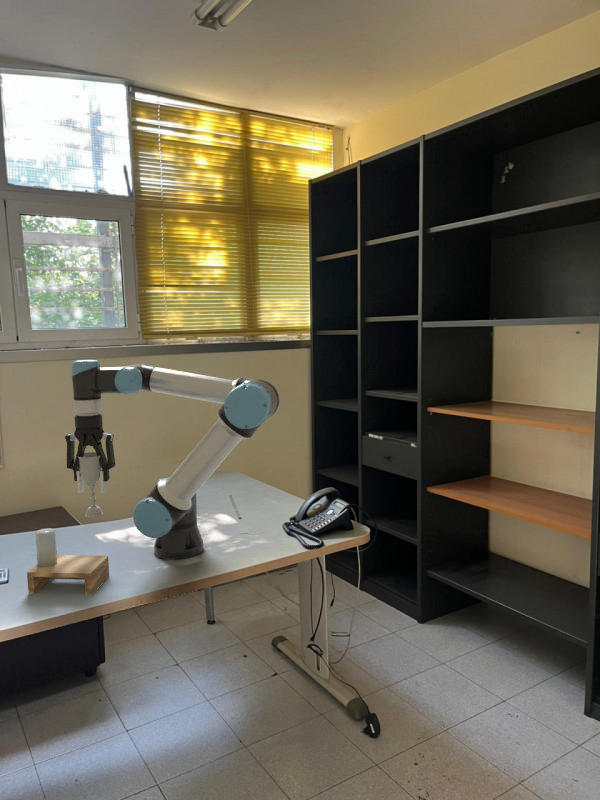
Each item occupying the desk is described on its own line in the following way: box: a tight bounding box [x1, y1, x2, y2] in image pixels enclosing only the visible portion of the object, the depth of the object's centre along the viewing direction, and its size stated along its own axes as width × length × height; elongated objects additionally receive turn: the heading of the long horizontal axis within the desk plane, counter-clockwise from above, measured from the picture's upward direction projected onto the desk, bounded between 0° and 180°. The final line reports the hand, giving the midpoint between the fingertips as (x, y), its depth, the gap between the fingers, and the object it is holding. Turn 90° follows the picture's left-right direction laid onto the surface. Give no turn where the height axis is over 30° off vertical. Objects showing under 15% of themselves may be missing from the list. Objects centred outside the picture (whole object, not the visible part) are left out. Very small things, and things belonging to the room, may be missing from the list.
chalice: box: [78, 451, 104, 518], centre depth 172 cm, size 7×7×18 cm
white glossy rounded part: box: [34, 527, 58, 567], centre depth 160 cm, size 5×5×9 cm
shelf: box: [26, 554, 110, 596], centre depth 160 cm, size 17×12×6 cm
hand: (92, 491), depth 173 cm, fingers closed on chalice, 6 cm apart
